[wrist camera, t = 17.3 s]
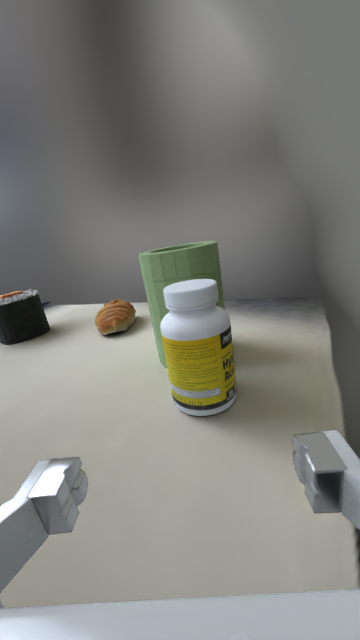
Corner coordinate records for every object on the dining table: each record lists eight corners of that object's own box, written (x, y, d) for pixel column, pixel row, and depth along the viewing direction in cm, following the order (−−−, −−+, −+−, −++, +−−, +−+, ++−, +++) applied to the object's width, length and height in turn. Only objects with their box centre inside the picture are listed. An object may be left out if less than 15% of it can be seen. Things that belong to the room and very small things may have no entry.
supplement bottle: (241, 417, 19) (228, 288, 16) (169, 420, 20) (144, 299, 17) (235, 377, 25) (224, 273, 21) (178, 381, 25) (159, 282, 22)
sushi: (57, 328, 49) (43, 286, 46) (9, 347, 43) (-10, 300, 41) (39, 324, 54) (25, 286, 52) (-7, 340, 48) (-25, 298, 46)
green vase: (192, 379, 25) (171, 253, 21) (146, 357, 31) (124, 255, 27) (243, 347, 30) (233, 238, 26) (195, 334, 36) (181, 243, 32)
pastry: (136, 332, 40) (131, 308, 39) (92, 341, 40) (84, 318, 38) (136, 315, 49) (132, 295, 48) (100, 322, 48) (94, 302, 47)
